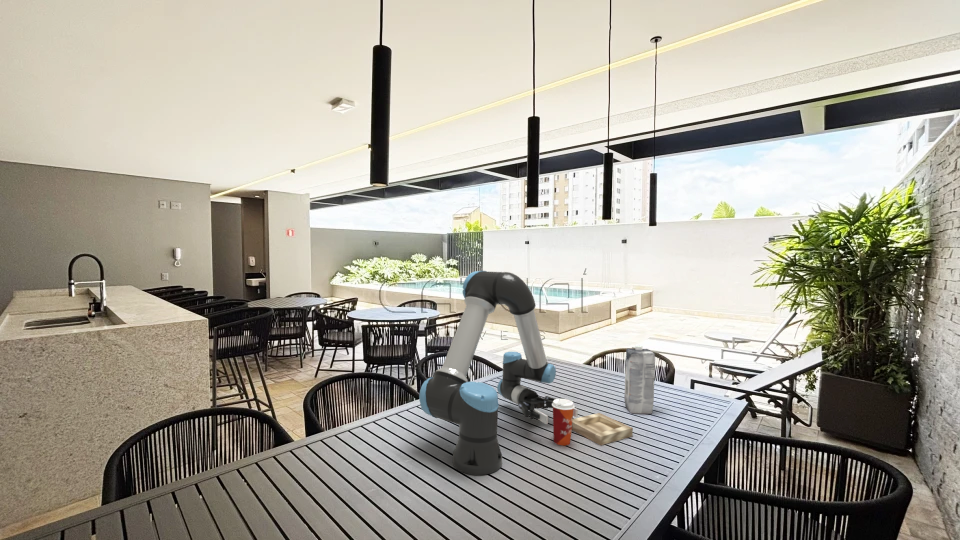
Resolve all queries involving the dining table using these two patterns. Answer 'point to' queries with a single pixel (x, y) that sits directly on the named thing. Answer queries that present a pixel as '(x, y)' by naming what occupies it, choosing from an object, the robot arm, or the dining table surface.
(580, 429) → the tray
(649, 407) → the juice carton
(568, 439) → the paper cup
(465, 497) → the dining table surface
